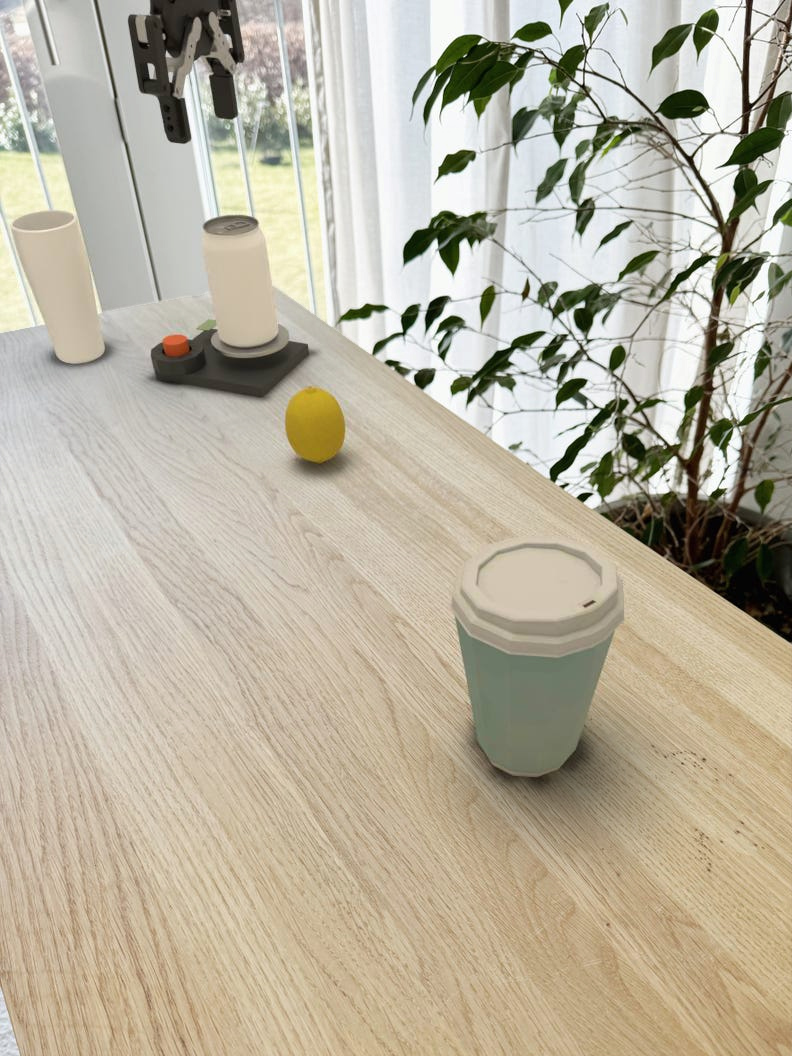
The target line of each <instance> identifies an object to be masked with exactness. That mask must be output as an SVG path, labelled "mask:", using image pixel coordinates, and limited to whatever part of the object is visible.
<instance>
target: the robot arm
mask: <svg viewBox="0 0 792 1056" xmlns="http://www.w3.org/2000/svg"><path fill="white" fill-rule="evenodd" d="M127 25H128V31H129V39H130V43H131V49H132V56H133V61H134V67H135V74H136V80H137V84H138V90H139V92H140V93H141V94H143V95H151V96H154V97H156V99H157V100H158V105H159V108H160V115H161V119H162V124H163V130H164V133H165V135H166V139H167V141H168V142H169V143H173V144H179V145H180V144H181V145H185V144H188V143H190V142H191V141H192V133H191V128H190V127H191V126H190V121H189V116H188V115H189V114H188V110H187V104H186V98H185V97H183V96H184V95H183V94H184V90H185V85H186V84H185V83H186V78H187V75H189V74H190V73H191V72H192V71H193V64H194V62H196V61H197V60H199V59H201V60H202V62H203V63H204V65H205V67H206V69H207V70H208V72H209V73H212V74H209V75H208V80H209V86H210V92H211V99H212V106H213V111H214V115H215V116H216V118H217V119H223V120H231V121H232V120H234V119H235V118H238V116H239V110H238V101H237V95H236V88H235V80H234V75H236V73H237V65H238V64H244V62H245V57H246V55H245V50H244V44H243V37H242V31H241V30H242V29H241V24H240V18H239V12H238V7H237V0H149V14H135V13H131V14H129V15H128V17H127ZM227 35H228V36H229V37H230V42H231V45H230V43H229V40H228V39H227V38H226V36H227ZM167 53H168V55H169V56H170V57H168V56H167ZM149 64H151V65H153V67H154V69H153V76H152V78H151V77H150V69H149ZM169 73H172V78H171V81H170V76H169Z"/></svg>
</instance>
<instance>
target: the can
mask: <svg viewBox="0 0 792 1056" xmlns="http://www.w3.org/2000/svg"><path fill="white" fill-rule="evenodd" d="M259 224H260V222H259V220H258V218H255V217H253V216H251V215H246V214H225V215H219V216H216V217H213V218H209V219H208V220H206V221H205V222H204V223H203V224H202V229H203V233H202V237H201V249H202V254H203V255H202V256H203V260H204V266H205V271H206V277H207V281H208V282H207V283H208V287H209V291H210V298H211V303H212V309H213V314H214V318H215V319H214V320H216V329H217V330H218V335H219V338H220V340H221V341H223V342H224V343H225V344H227V345H229V346H232V347H236V348H254V347H259V346H263V345H265V344H268V343H270V342H271V341H273V340H274V339H275V337H276V335H277V334H278V324H279V322H278V316H277V315H278V314H277V309H276V300H275V295H274V288H273V280H272V273H271V268H270V261H269V254H268V253H269V252H268V247H267V242H266V236H265V234H264V233H263V231H262V229H261V228H260V226H259Z"/></svg>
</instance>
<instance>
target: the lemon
mask: <svg viewBox="0 0 792 1056" xmlns="http://www.w3.org/2000/svg"><path fill="white" fill-rule="evenodd" d="M344 416H345V415H344V414H343V410H342V408H341V406H340V403H339V401H338V400H337V399H336V398H335V396H333V394H332V393H330V392H328V391H327V390H325V389H322V388H319V387H315V386H313V385H309V386H307V387H306V388H303V389H301V390H300V391H298V392H295V394H293V396H292V397H291V398H290V400H289V402H288V403H287V406H286V410H285V416H284V424H285V425H284V426H285V427H284V428H285V435H286V438H287V442H288V443H289V445H290V447H291V449H292V450H293V451H294V452H295V454H296V455H298V456H299V457H300V458H302V459H303V460H306V461H309V462H312V463H313V462H314V463H316V464H318V465H321V464H323V463H324V462H327V461H329V460H330V459H332V458H334V457H335V456H336V455H337V454H338V453H339V452H340V450H341V449H342V447H343V445H344V442H345V439H346V421H345V417H344Z"/></svg>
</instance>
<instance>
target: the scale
mask: <svg viewBox="0 0 792 1056" xmlns="http://www.w3.org/2000/svg"><path fill="white" fill-rule="evenodd" d="M217 331H218V330H217V328H212V329H211V330H209V331H204V330H202V331H201V332H200V333H199V334H198V335H196V336H195V337H194V338H192V339H190V338H187V340H188V345H189V350H190V352H189V353H188V354H185V355H182V356H176V357H171V356H166V355H165V351H164V347H163V343H162V342H159V343H157V344H156V345H155V346H154V347H152V348H151V350H150V360H151V363H152V367H153V370H154V374H155V379H156V380H158V381H165V382H170V383H177V384H181V385H186V386H194V387H199V388H205V389H210V390H215V391H222V392H227V393H234V394H237V395H245V396H249V397H254V398H255V397H256V398H260V399H261V398H264V397H265V396H266V395H267V394H268V393H269V392H270V391H271V390H272V389H273V388H274V387H276V386H277V384H278V383H280V382H281V381H282V380H283V379H284V378H285V377H287V375H288V374H289V373H290V372H291V371H292V370H293V369H295V368H296V367H297V366H298V365H299V364H300V363H301V362H302V361H303V360H304V359H305V358H307V357H308V356H309V355H310V350H309V344H308V343H305V342H299V341H292V340H289V342H288V343H287V345H286V346H285V347H283V348H282V349H280V350H279V351H277V352H274V353H272V354H269V355H265V356H261V357H254V358H233V357H228V356H224V355H221V354H219V353H217V352H216V351H215V350H214V349H213V348H212V344H211V338H212V336H213V335H214V333H215V332H217Z"/></svg>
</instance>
